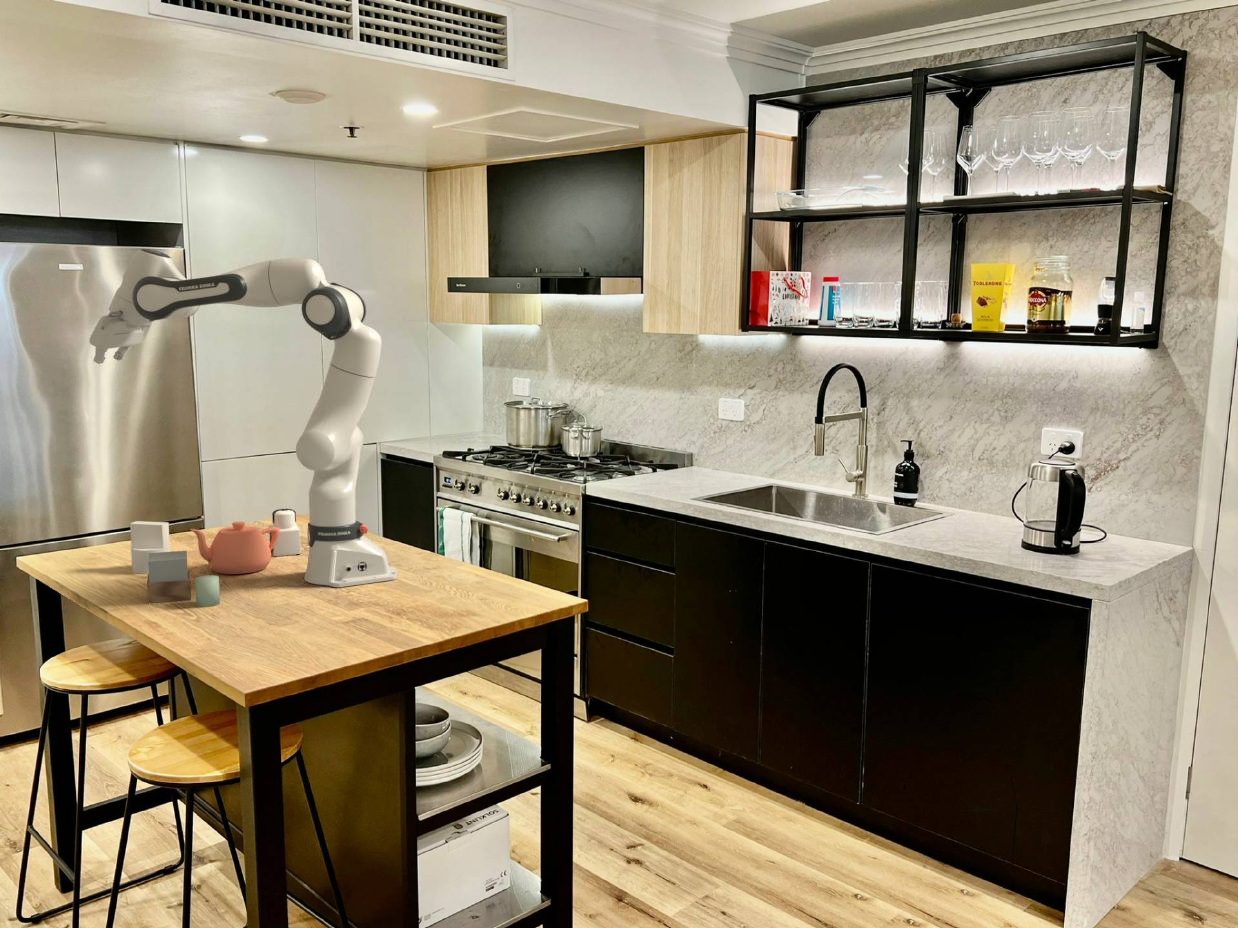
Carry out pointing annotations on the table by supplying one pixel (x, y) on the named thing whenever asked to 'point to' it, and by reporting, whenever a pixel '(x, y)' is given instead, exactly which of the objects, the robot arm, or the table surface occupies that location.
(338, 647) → the table surface
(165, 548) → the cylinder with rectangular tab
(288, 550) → the white bottle
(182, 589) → the bottom block
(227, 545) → the teapot
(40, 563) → the table surface
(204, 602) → the pale green cylinder
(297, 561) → the table surface
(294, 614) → the table surface
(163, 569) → the top block
